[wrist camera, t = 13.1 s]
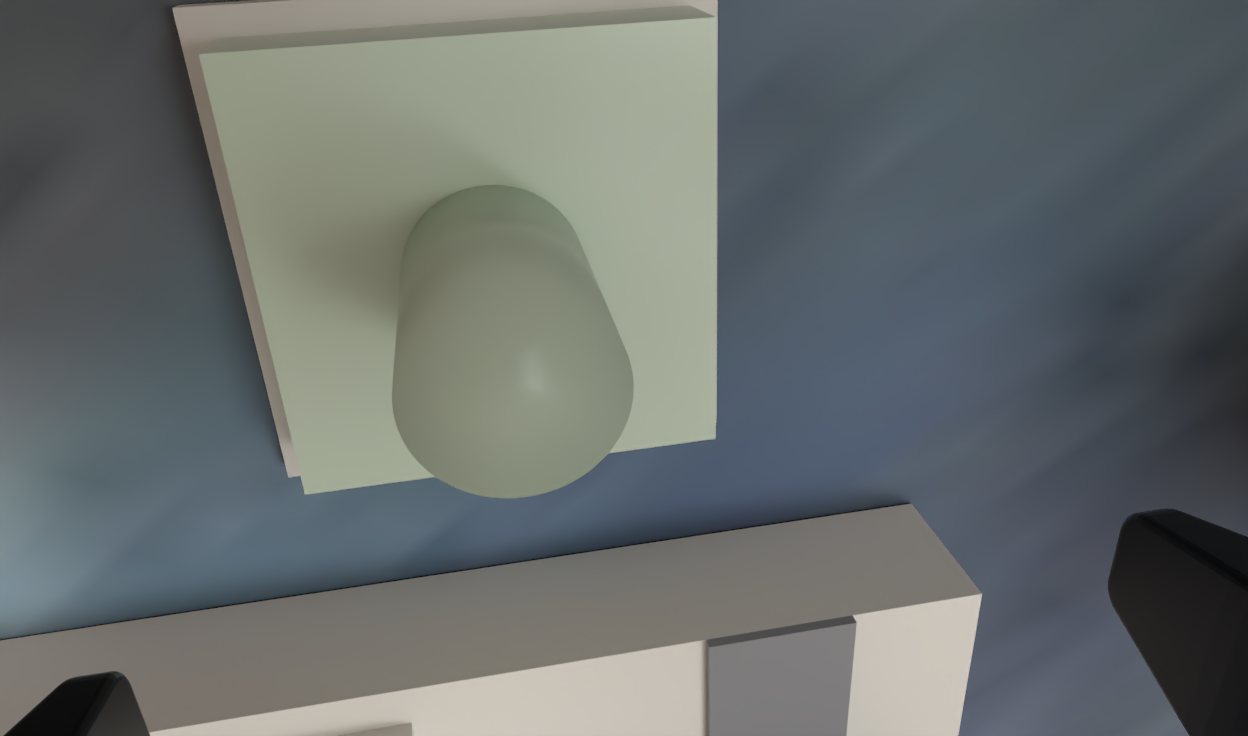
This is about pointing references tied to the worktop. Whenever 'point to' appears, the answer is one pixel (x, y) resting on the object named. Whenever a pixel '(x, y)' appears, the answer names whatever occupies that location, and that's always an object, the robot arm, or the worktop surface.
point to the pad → (328, 5)
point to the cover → (480, 240)
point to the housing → (568, 645)
